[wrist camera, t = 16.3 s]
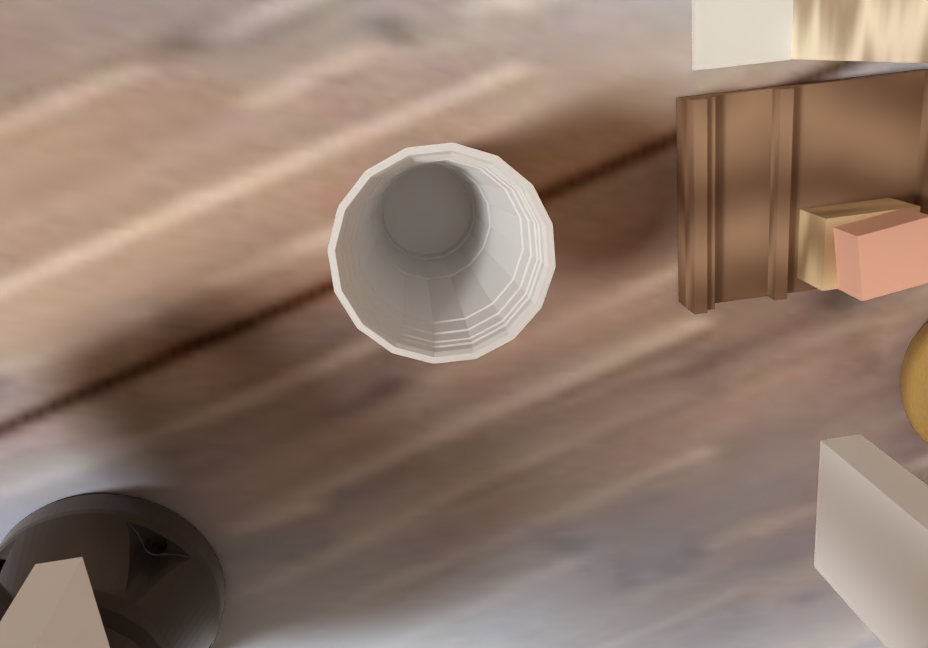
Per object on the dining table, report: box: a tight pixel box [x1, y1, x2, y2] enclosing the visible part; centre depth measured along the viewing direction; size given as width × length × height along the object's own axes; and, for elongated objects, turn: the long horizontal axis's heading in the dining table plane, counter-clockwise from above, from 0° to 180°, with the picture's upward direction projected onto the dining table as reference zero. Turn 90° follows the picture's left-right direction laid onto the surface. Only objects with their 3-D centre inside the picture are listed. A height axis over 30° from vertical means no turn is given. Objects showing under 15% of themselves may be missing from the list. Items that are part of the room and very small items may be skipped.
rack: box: [676, 69, 928, 314], centre depth 51 cm, size 13×16×3 cm
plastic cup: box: [327, 143, 556, 364], centre depth 44 cm, size 11×11×12 cm
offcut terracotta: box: [833, 208, 928, 301], centre depth 48 cm, size 4×4×2 cm
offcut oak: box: [797, 198, 921, 291], centre depth 51 cm, size 4×6×3 cm
